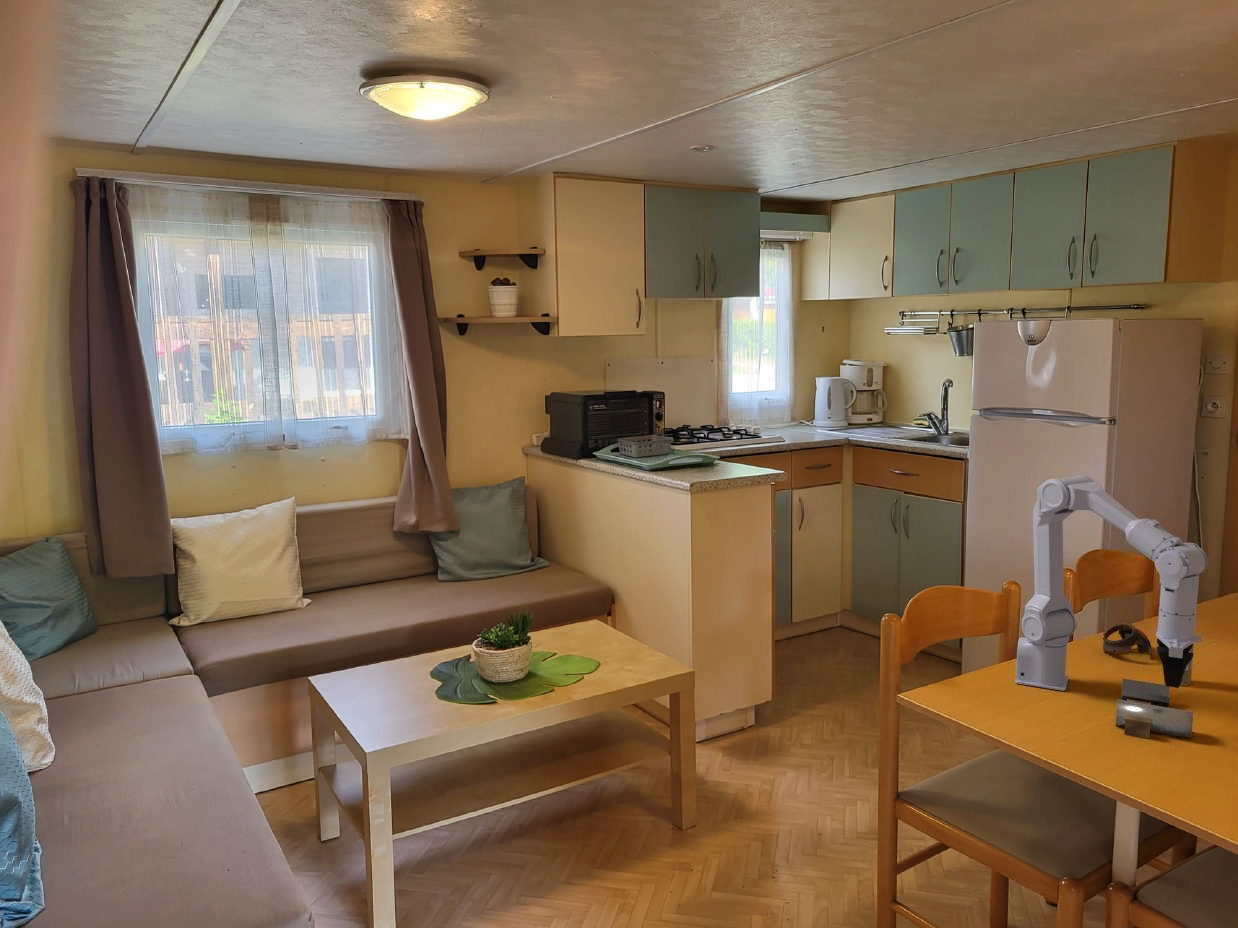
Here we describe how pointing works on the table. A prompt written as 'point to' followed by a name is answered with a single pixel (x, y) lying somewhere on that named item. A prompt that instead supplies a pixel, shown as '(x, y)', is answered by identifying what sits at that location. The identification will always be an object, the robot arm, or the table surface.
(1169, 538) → the robot arm
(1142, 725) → the blocks
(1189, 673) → the sprinkles bottle
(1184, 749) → the table surface
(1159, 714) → the axle
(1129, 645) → the dark looped band
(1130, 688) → the v block
